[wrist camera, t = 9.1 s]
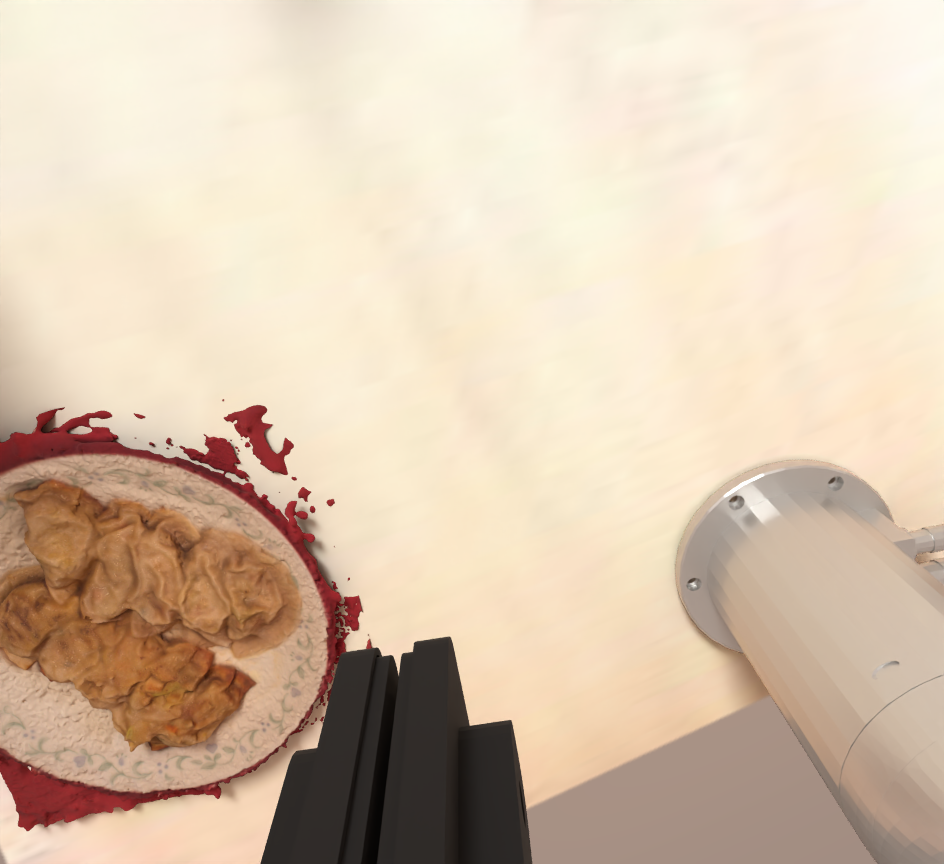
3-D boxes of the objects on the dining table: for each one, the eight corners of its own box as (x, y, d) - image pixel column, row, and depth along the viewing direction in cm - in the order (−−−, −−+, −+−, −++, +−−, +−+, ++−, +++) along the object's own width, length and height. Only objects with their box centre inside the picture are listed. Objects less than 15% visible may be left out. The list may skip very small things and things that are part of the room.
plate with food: (36, 804, 47) (7, 853, 44) (-160, 443, 37) (-217, 472, 34) (400, 742, 47) (398, 787, 44) (302, 364, 37) (290, 385, 34)
